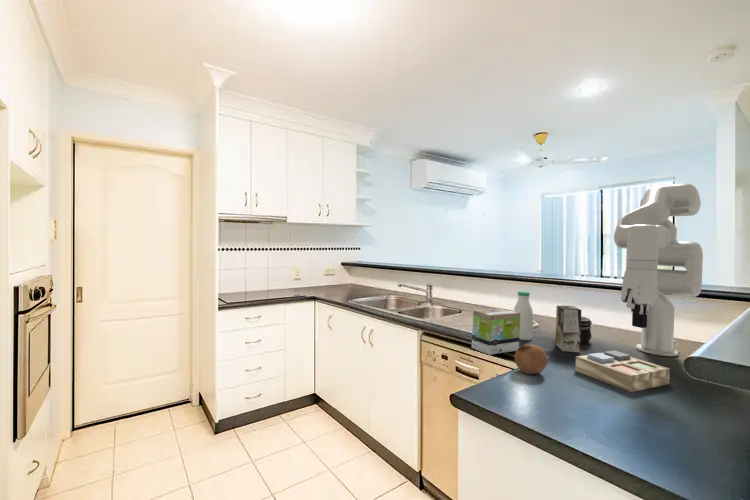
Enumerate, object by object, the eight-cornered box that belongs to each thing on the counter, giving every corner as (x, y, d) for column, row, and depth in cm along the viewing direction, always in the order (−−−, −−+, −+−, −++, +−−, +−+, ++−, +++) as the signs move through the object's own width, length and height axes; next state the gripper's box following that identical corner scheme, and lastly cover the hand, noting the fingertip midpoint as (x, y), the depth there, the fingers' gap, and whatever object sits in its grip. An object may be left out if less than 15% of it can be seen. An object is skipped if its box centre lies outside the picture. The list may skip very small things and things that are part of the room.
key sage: (638, 372, 110) (638, 362, 110) (655, 378, 105) (656, 368, 105) (627, 374, 108) (627, 364, 108) (644, 380, 103) (645, 370, 103)
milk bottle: (533, 337, 152) (534, 291, 152) (530, 341, 146) (532, 293, 145) (514, 334, 156) (515, 289, 156) (511, 338, 150) (512, 291, 149)
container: (580, 347, 139) (581, 322, 139) (550, 339, 150) (550, 315, 150) (598, 343, 146) (598, 319, 146) (567, 335, 157) (568, 313, 157)
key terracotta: (621, 375, 107) (622, 365, 107) (639, 381, 102) (639, 371, 102) (610, 377, 105) (610, 367, 105) (627, 383, 100) (628, 373, 100)
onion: (521, 384, 109) (509, 356, 108) (520, 366, 118) (509, 340, 116) (554, 378, 105) (542, 349, 104) (550, 360, 114) (539, 333, 112)
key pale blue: (598, 361, 114) (598, 352, 114) (613, 367, 109) (614, 357, 109) (587, 363, 112) (587, 354, 112) (602, 369, 107) (602, 359, 107)
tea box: (490, 356, 127) (491, 315, 126) (471, 348, 135) (471, 310, 135) (519, 350, 133) (521, 311, 133) (499, 343, 142) (500, 307, 142)
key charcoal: (614, 359, 117) (614, 350, 116) (629, 364, 112) (630, 355, 112) (603, 361, 115) (604, 351, 115) (619, 366, 110) (619, 356, 110)
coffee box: (580, 352, 132) (582, 309, 132) (562, 351, 133) (563, 308, 133) (572, 345, 141) (573, 305, 141) (554, 344, 142) (556, 304, 142)
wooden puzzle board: (611, 364, 120) (612, 351, 119) (669, 384, 104) (669, 368, 104) (575, 370, 113) (576, 356, 113) (630, 392, 97) (631, 375, 97)
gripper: (643, 264, 112) (641, 322, 113) (612, 265, 106) (610, 325, 107) (671, 266, 105) (668, 327, 106) (639, 267, 100) (636, 332, 100)
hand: (639, 326), depth 106 cm, fingers closed
